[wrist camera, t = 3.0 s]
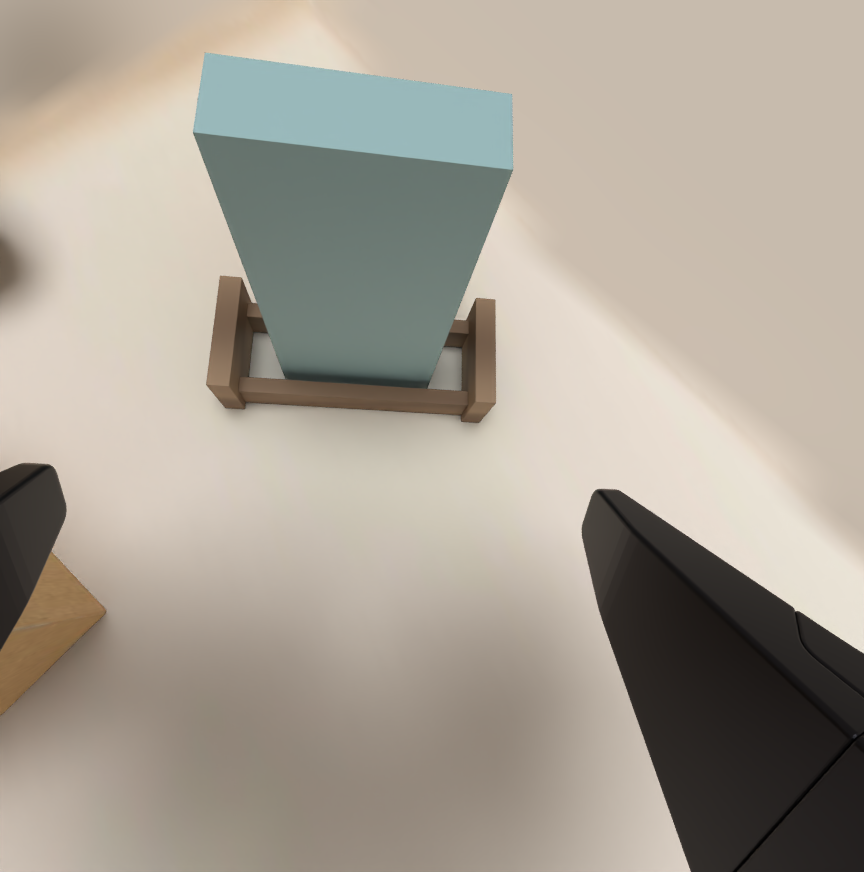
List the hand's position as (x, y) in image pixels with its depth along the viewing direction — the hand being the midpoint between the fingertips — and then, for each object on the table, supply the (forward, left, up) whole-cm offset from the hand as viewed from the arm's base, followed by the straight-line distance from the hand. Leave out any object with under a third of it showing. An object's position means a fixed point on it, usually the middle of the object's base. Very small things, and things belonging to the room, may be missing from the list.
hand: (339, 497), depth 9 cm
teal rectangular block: (+3, +7, -13) cm, 15 cm away
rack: (+3, +7, -13) cm, 15 cm away
